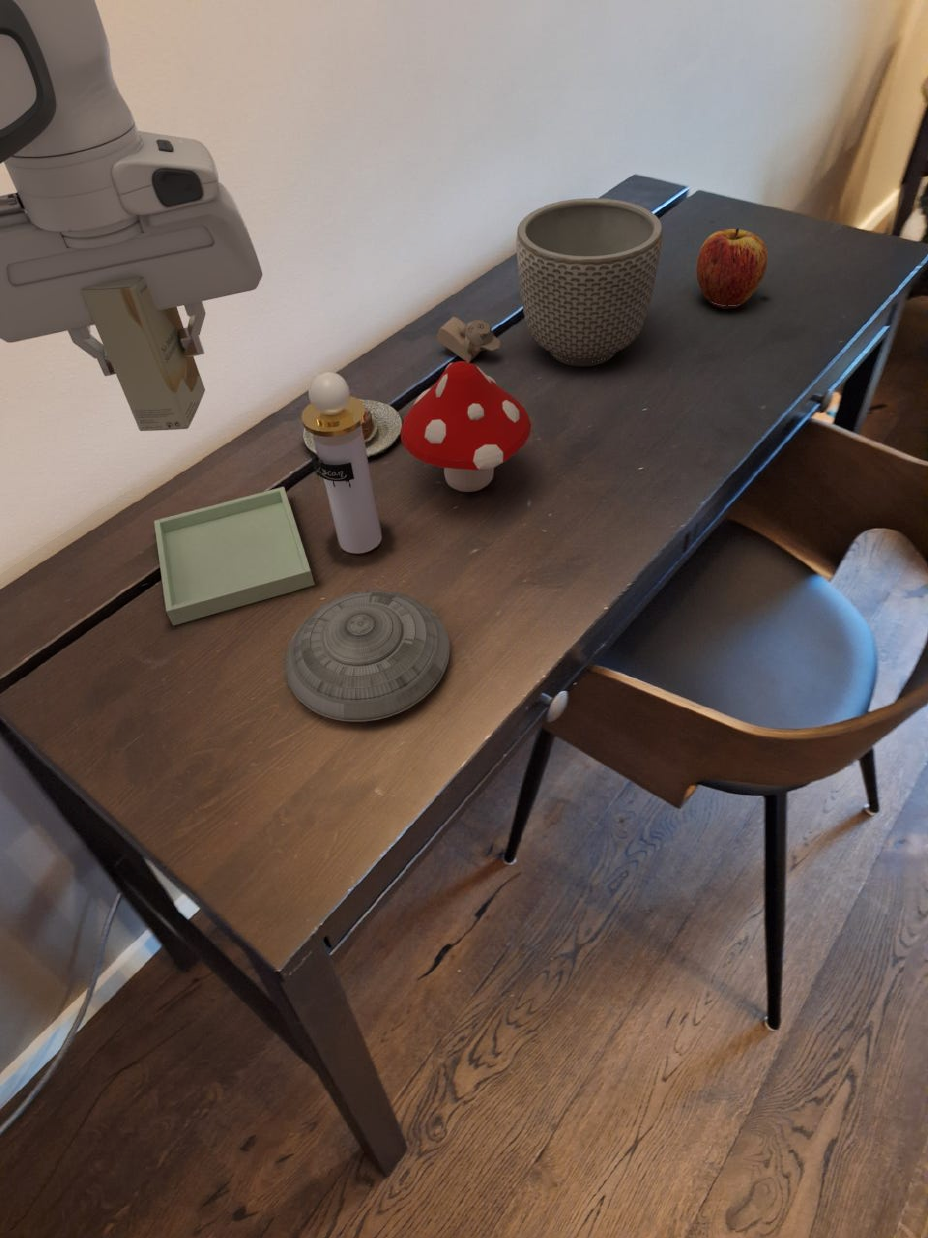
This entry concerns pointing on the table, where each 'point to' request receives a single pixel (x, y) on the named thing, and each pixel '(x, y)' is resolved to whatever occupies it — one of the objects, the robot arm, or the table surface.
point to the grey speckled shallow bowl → (372, 428)
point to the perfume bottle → (343, 461)
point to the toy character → (467, 337)
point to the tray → (230, 555)
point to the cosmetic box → (146, 354)
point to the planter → (587, 276)
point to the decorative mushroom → (465, 426)
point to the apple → (731, 266)
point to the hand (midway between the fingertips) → (155, 361)
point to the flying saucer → (367, 656)
